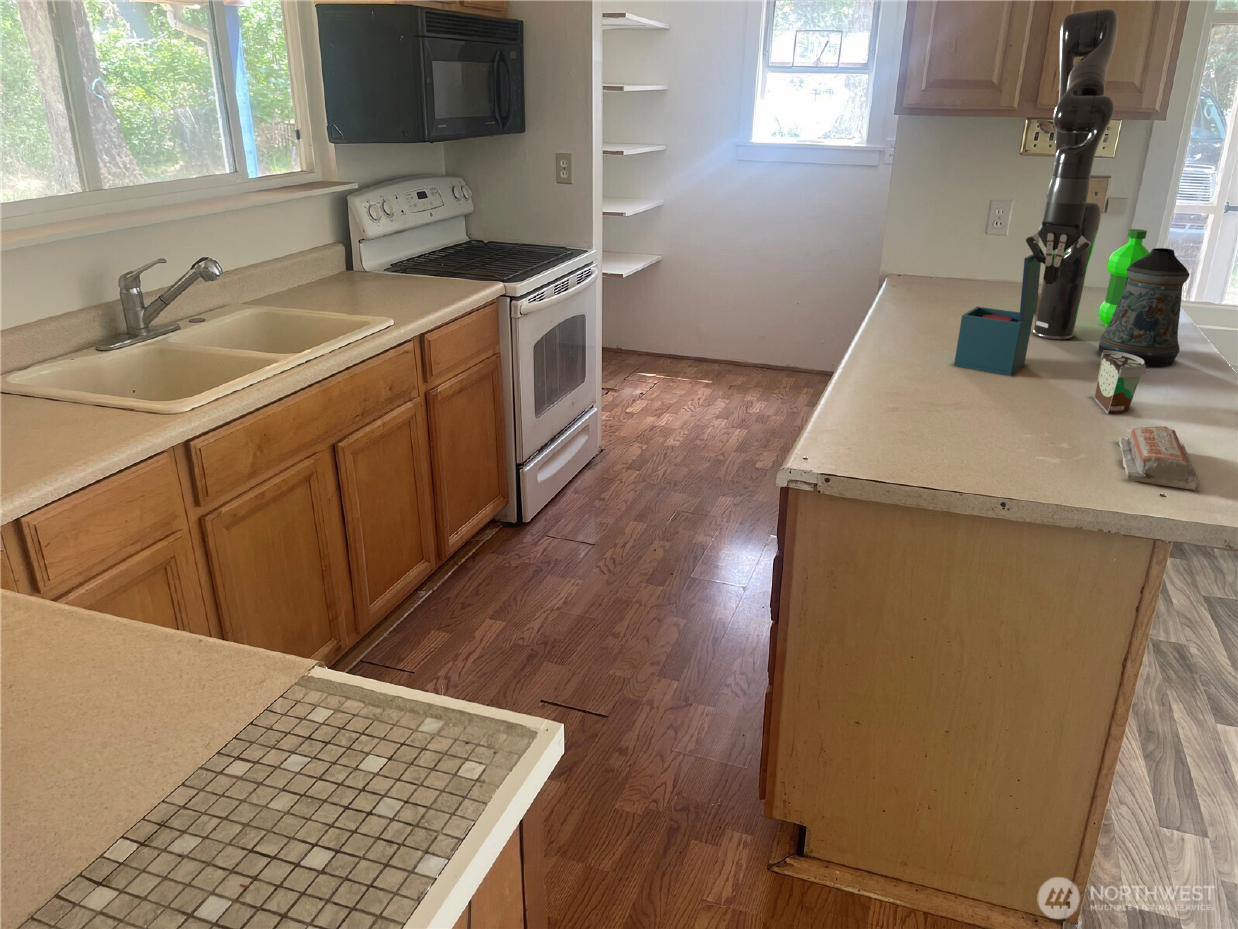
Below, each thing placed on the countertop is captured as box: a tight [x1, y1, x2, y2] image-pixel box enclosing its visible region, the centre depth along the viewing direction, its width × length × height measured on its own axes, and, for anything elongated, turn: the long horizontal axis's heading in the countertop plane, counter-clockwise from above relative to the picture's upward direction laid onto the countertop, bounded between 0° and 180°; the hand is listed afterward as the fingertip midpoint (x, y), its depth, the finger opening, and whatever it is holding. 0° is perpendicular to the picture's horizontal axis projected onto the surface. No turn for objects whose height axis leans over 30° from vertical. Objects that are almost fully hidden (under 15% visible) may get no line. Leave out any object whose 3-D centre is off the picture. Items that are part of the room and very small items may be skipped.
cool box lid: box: [1019, 253, 1042, 322], centre depth 189 cm, size 14×11×1 cm
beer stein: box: [1098, 247, 1190, 368], centre depth 201 cm, size 16×19×25 cm
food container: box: [1093, 350, 1146, 415], centre depth 172 cm, size 12×6×10 cm, turn 168°
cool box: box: [953, 306, 1035, 377], centre depth 198 cm, size 13×11×12 cm
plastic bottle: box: [1098, 228, 1150, 327], centre depth 227 cm, size 10×10×25 cm
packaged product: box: [1118, 425, 1199, 491], centre depth 146 cm, size 18×5×10 cm
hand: (1049, 283), depth 187 cm, fingers closed
